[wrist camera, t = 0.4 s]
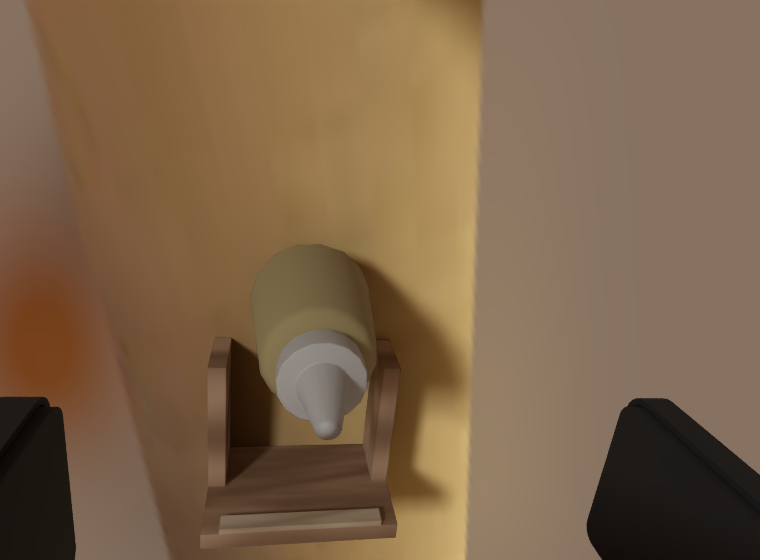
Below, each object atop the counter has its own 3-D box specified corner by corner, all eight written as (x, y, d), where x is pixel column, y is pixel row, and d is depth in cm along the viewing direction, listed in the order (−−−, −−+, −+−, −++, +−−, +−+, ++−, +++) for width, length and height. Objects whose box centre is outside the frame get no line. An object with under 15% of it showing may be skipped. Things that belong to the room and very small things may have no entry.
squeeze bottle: (371, 315, 42) (431, 474, 26) (269, 341, 41) (263, 522, 25) (349, 217, 39) (401, 325, 22) (238, 243, 38) (208, 376, 22)
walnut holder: (214, 337, 40) (198, 406, 32) (389, 340, 43) (415, 404, 35) (214, 459, 44) (200, 549, 36) (375, 455, 47) (395, 537, 39)
